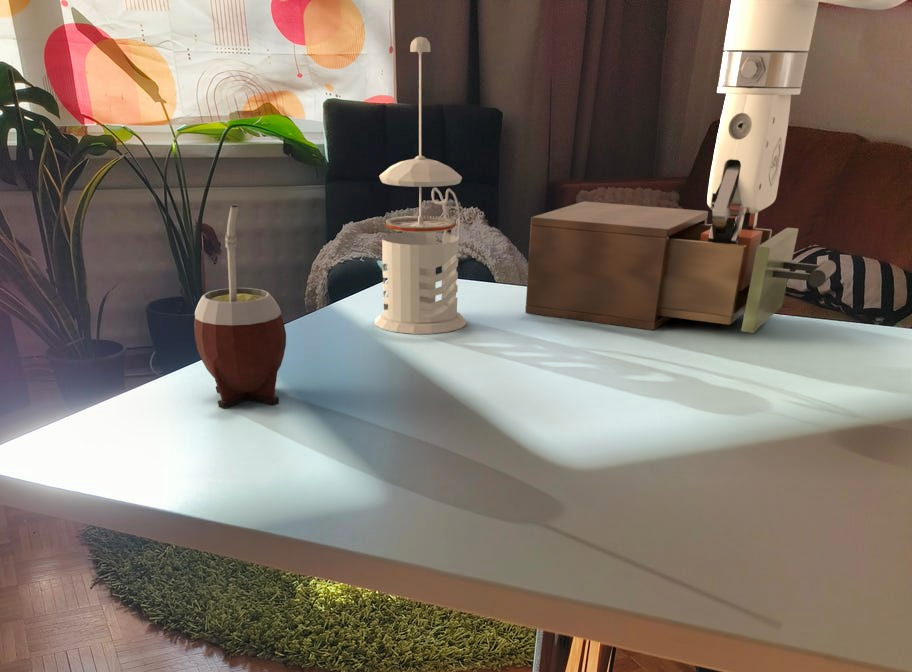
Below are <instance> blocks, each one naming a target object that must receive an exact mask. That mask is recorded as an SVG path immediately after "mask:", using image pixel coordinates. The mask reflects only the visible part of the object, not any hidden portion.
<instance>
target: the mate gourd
mask: <svg viewBox="0 0 912 672" xmlns="http://www.w3.org/2000/svg"><path fill="white" fill-rule="evenodd" d="M238 212H239V205H238V204H237V203H233V204H231V205H230V207H229V213H228V218H227V226H226V232H225V234H224V240H225V241H224V244H225V246H224V247H225V248H226V250H227V251H226V252H227V270H228V271H227V273H228V288H221V289H216V290H211V291H207V292H206V293H204V294H203V295H202V296H201V297H200V299H199V301H198V303H197V305H196V308H195V311H194V323H193V327H194V341H195V344H196V349H197V352H198V354H199V356H200V359H201V361H202V363H203V365H204V367H205V369H206V370H207V372H208V373H209V374H210V375H211V376H212V378H213V379H214V381H215V384H216V386H215V390H216V393H217V394H219V396H220V399H219V400H217V404H218V405H217V406H218V408H220V409H221V408H222V409H228V408H230V407H233V406H235V405H238V404H240V403H242V402H245V401H252V402H253V401H254V402H258V403H262V404H267V405H271V406H274V405H277V404H279V403H280V396H278V395H277V396H276V394H275V393H276V385H277V377H278V372H279V369H280V368H281V366H282V363H283V360H284V356H285V351H286V346H287V332H286V326H285V322H284V320H283V316H282V311H281V309H280V306H279V304H278V302H277V301H276V299H274V297H273V295H272V294H271V293H270V292H268V291H266V290H264V289H260V288H259V289H258V288H252V287H237V265H236V264H237V263H236V249H237V246H238V245H237V244H238V243H237V237H238V236H237V234H236V223H237V217H238Z"/></svg>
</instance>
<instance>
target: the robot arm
mask: <svg viewBox="0 0 912 672" xmlns="http://www.w3.org/2000/svg"><path fill="white" fill-rule="evenodd" d="M730 2H731V3H730V6H729V7H730V8H729V14H728V21H727V26H726V32H725V39H724V46H723V52H722V58H721V64H720V70H719V77H718V81H717V82H718V84H717V90H716V93H717V94H725V99H724V103H723V108H722V112H721V116H720V122H719V127H718V132H717V136H716V142H715V147H714V152H713V158H712V163H711V168H710V175H709V182H708V188H707V197H706V198H707V199H706V203H707V206H708V208H709V209H710V210H711V211H712V212H711V216H712V217H711V218H712V220H711V224H712V225H711V229H710V233H709V238H708V242H716V243H727V244H738V241H739V237H740V233H741V229H746V230H756V228H757V223H758V215H759V212H761V211H763V210H765V209H767V208H768V207H770V206H771V205H772V204H773V203H774V202H775V201H776V199H777V196H778V188H779V184H780V177H781V172H782V165H783V159H784V154H785V148H786V140H787V134H788V127H789V120H790V113H791V112H790V111H791V101H792V100H791V99H792V95H794V96H797V95H798V96H799V95H801V91H802V86H803V82H804V75H805V71H806V66H807V60H808V57H809V51H810V47H811V42H812V37H813V34H814V33H813V32H814V28H815V27H814V26H815V23H816V17H817V13H818V8H819V3H824V4H825V3H826V4H831V5H837V6H843V7H848V8H855V9H865V10H869V11H870V10H872V11H884V10H888V9H892V8H895V7H897V6H900V5H901V4H903V3H905V2H907V0H731V1H730ZM733 228H734V229H733Z"/></svg>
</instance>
